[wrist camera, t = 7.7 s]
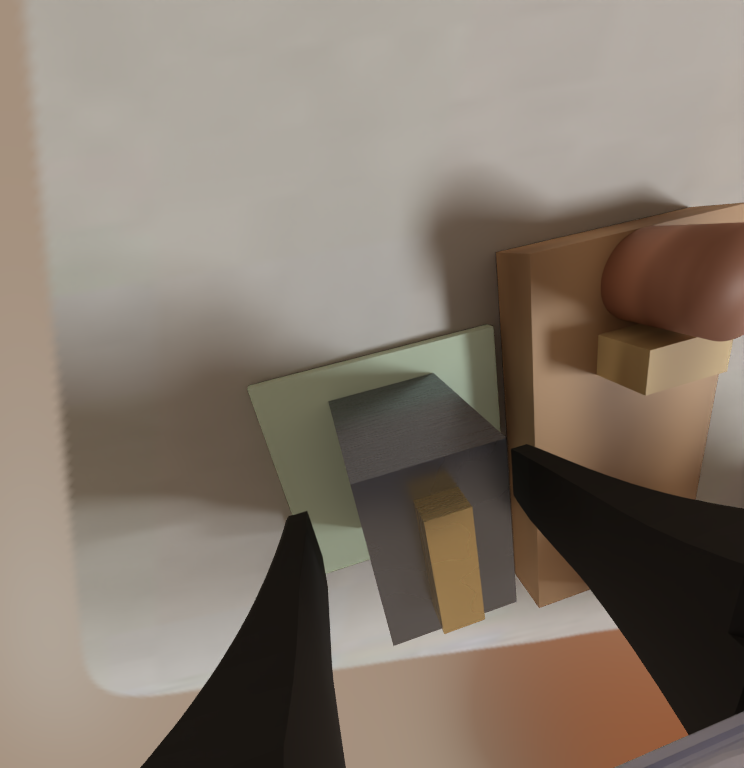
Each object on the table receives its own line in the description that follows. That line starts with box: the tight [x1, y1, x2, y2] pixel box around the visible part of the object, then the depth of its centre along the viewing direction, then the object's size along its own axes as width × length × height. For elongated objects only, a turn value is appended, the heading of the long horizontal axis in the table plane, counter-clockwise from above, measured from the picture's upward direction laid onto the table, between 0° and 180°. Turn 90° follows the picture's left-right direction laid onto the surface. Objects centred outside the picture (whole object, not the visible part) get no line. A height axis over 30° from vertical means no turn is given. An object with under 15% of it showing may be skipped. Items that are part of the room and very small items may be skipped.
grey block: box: [328, 373, 516, 645], centre depth 12 cm, size 4×6×6 cm, turn 11°
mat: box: [247, 324, 501, 574], centre depth 15 cm, size 9×9×1 cm
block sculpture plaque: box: [496, 203, 744, 608], centre depth 14 cm, size 8×16×5 cm, turn 11°
